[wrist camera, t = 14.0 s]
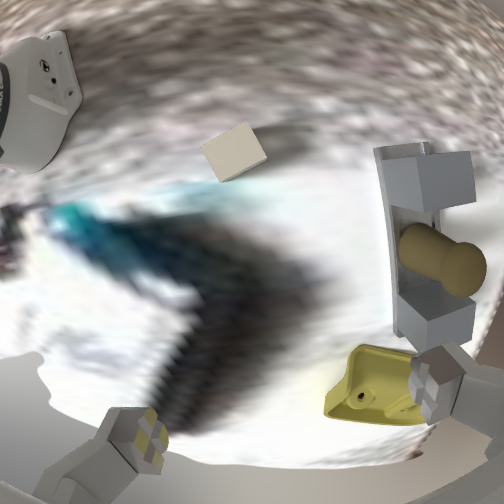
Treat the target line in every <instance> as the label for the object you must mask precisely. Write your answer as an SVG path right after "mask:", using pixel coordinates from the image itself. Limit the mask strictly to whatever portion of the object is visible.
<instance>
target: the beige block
mask: <svg viewBox="0 0 504 504" xmlns="http://www.w3.org/2000/svg"><path fill="white" fill-rule="evenodd" d="M200 147H201V149H202V151H203V153H204V155H205V156H206V158H207V160H208V162H209V164H210V166H211V167H212V169H213V171H214V173H215V175H216V177H217V178H218V180H219V182H227V181H229V180H231V179H232V178H234V177H236V176H238V175H240V174H242V173H244V172H246V171H247V170H249V169H251V168H253V167H255V166H257V165H259V164H261V163H263V162H265V161H266V159H267V156H266V154H265V152H264V151H263V149H262V147H261V145H260V143H259V142H258V140H257V138H256V136H255V134H254V133H253V131H252V129H251V127H250V126H249V124H248V122H247V121H246V122H244V123H242V124H240V125H238V126H236V127H234V128H232V129H230V130H229V131H227V132H225V133H223V134H221V135H219V136H217V137H216V138H214V139H212V140H210V141H208V142H207V143H205V144H203V145H201V146H200Z"/></svg>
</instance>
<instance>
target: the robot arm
mask: <svg viewBox="0 0 504 504" xmlns="http://www.w3.org/2000/svg"><path fill="white" fill-rule="evenodd" d="M72 92H73V93H72ZM71 93H72V95H71ZM81 102H82V93H81V90H80V87H79V83H78V80H77V77H76V73H75V70H74V66H73V62H72V59H71V55H70V51H69V47H68V43H67V39H66V35H65V33H64V32H62V31H53V32H50V33H47V34H45V35H43V36H41V37H40V38H36V37H30V38H26V39H23V40H21V41H19V42H18V43H16V44H15V45H13V46H12V47H10V48H9V49H8V50H7V51H6V52H4V53H3V54H2V55H1V56H0V167H6V168H10V169H13V170H16V171H18V172H20V173H23V174H32V173H35V172H37V171H39V170H40V169H42V168H43V167H44V166H45V165H46V164H48V162H49V161H50V160H51V159H52V158H53V156H54V155H55V153H56V152H57V150H58V148H59V146H60V144H61V142H62V140H63V138H64V135H65V132H66V129H67V126H68V123H69V121H70V119H71V117H72V116H73V114H74V113H75V112H76V110H77V109H78V107H79V106H80V104H81ZM410 367H411V369H412V370H413V371H412V373H411V374H410V376H409V379H408V387H409V393H410V395H411V398H412V399H413V401H414V403H416V404H418V405H421V410H420V413H421V415H422V416H423V418H424V420H425V421H426V423H427V425H428V426H429V425H432V424H434V423H436V422H439V421H441V420H443V419H445V418H448V417H450V416H451V418H453V419H455V420H457V421H459V422H461V423H463V424H465V425H467V426H469V427H471V428H473V429H475V430H477V431H479V432H481V433H483V434H485V435H487V436H489V437H491V438H492V440H491V441H490V443H489V445H488V447H487V448H486V450H485V453H484V454H485V455H486V457H487V459H488V461H487V462H485V463H484V464H482V465H481V466H479V467H477V468H476V469H474V470H472V471H471V472H469V473H467V474H466V475H464V476H462V477H460V478H459V479H457V480H455V481H453V482H451V483H449V484H447V485H445V486H443V487H441V488H439V489H437V490H435V491H433V492H431V493H429V494H427V495H425V496H422V497H421V498H418V499H415V500H413V501H411V502H408V503H406V504H504V370H502V369H498V368H494V367H490V366H486V365H482V366H479V365H478V364H477V363H476V362H475V361H474V360H473V359H472V358H471V357H470V356H469V355H468V354H467V353H466V352H465V351H464V350H463V349H462V348H461V347H460V346H459V345H458V344H457V343H456V342H455V341H453V340H450V341H448V342H446V343H444V344H441V345H439V346H437V347H434V348H432V349H430V350H427V351H425V352H422V353H420V354H417V355H415V356H412V358H411V362H410ZM157 416H158V415H157V414H156V412H155V411H154V409H153V408H149V407H111V408H110V409H109V410H108V412H107V414H106V416H105V418H104V420H103V421H102V423H101V425H100V427H99V429H98V431H97V433H96V435H95V437H94V439H93V440H88V441H87V442H85V443H84V444H82V445H81V446H80V447H78V448H77V449H75V450H74V451H72V452H71V453H69V454H68V455H66V456H65V457H64V458H62V459H61V460H59V461H58V462H56V463H55V464H53V465H52V466H50V467H48V468H47V469H45V470H44V472H43V474H42V476H41V478H40V480H39V482H38V484H37V486H36V487H35V489H34V491H33V493H32V495H29V494H27V493H25V492H23V491H21V490H19V489H17V488H15V487H13V486H11V485H9V484H7V483H5V482H3V481H2V480H0V504H111V503H112V501H113V500H114V499H115V498H116V497H117V496H118V495H119V494H120V493H121V492H122V491H123V490H124V489H125V488H126V487H127V486H128V485H129V484H130V483H131V482H132V481H133V480H134V479H135V478H136V477H137V476H138V474H156V475H160V474H161V471H162V467H163V463H164V458H163V456H162V453H164V452H165V451H166V450H167V448H168V443H169V441H168V433H167V430H166V428H165V426H164V425H163V424H162V423H161V422H159V421H158V420H156V419H157ZM137 473H138V474H137Z"/></svg>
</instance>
